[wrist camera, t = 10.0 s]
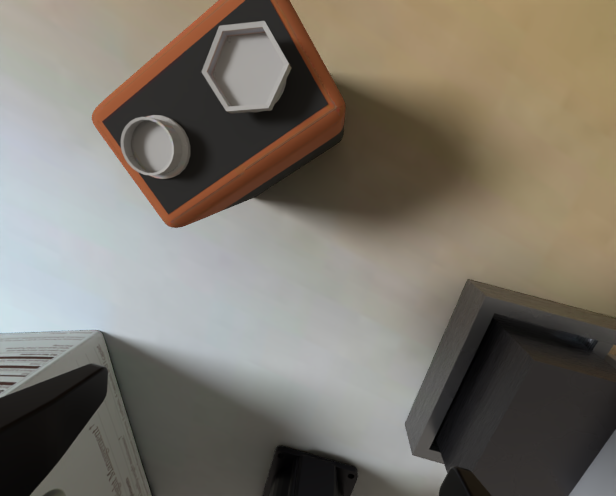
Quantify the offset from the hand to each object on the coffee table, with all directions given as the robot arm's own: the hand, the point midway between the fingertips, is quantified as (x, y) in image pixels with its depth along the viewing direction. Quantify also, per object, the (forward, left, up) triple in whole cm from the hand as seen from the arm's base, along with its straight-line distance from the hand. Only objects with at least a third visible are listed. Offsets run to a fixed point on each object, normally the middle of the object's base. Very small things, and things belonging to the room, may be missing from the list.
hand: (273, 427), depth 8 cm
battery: (+7, +4, -12) cm, 15 cm away
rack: (-4, -16, -12) cm, 20 cm away
